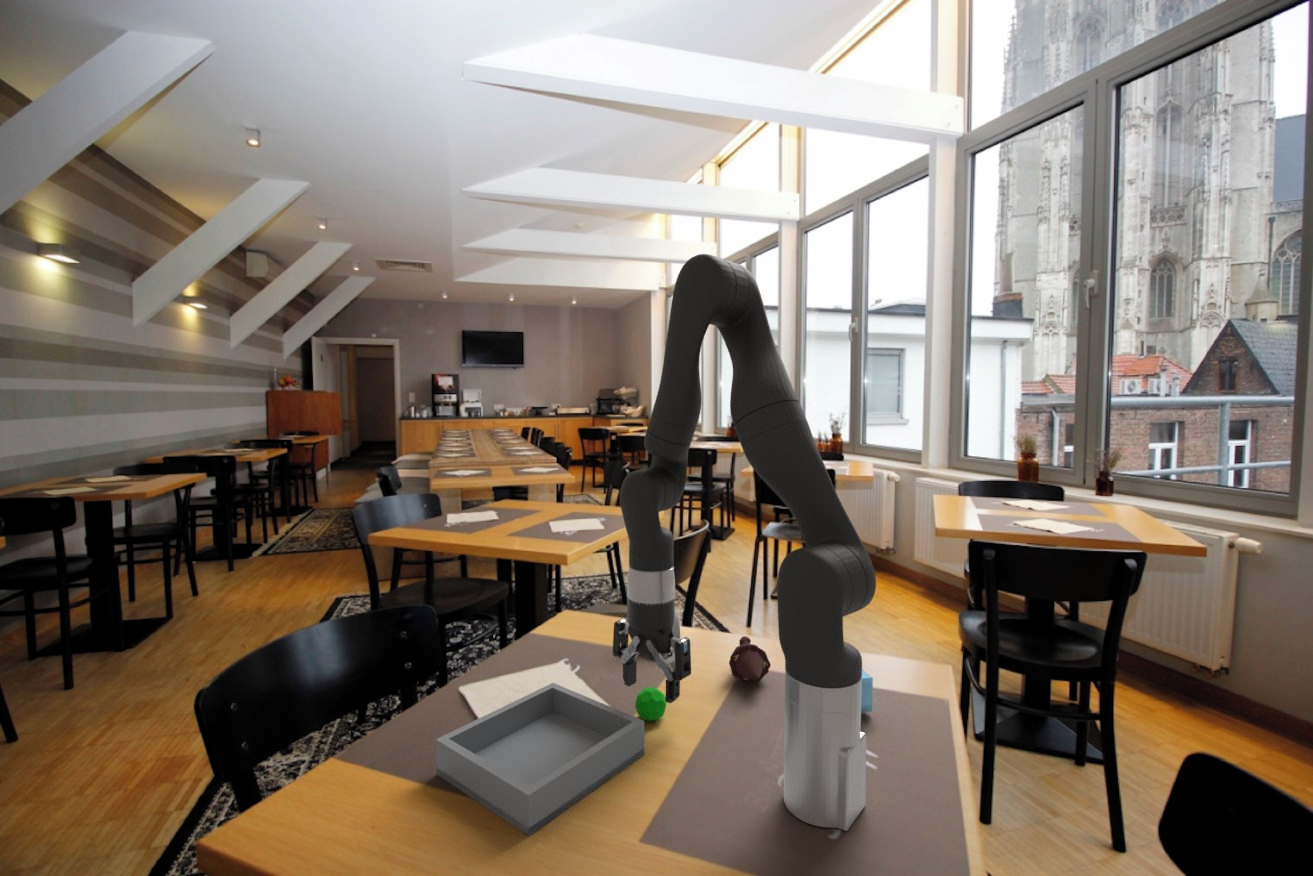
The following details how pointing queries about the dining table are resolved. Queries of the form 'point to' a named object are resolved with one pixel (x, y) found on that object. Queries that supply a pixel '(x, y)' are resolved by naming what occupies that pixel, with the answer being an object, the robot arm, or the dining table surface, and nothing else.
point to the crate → (539, 754)
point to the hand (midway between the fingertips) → (650, 692)
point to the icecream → (749, 662)
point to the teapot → (866, 692)
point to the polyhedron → (650, 704)
